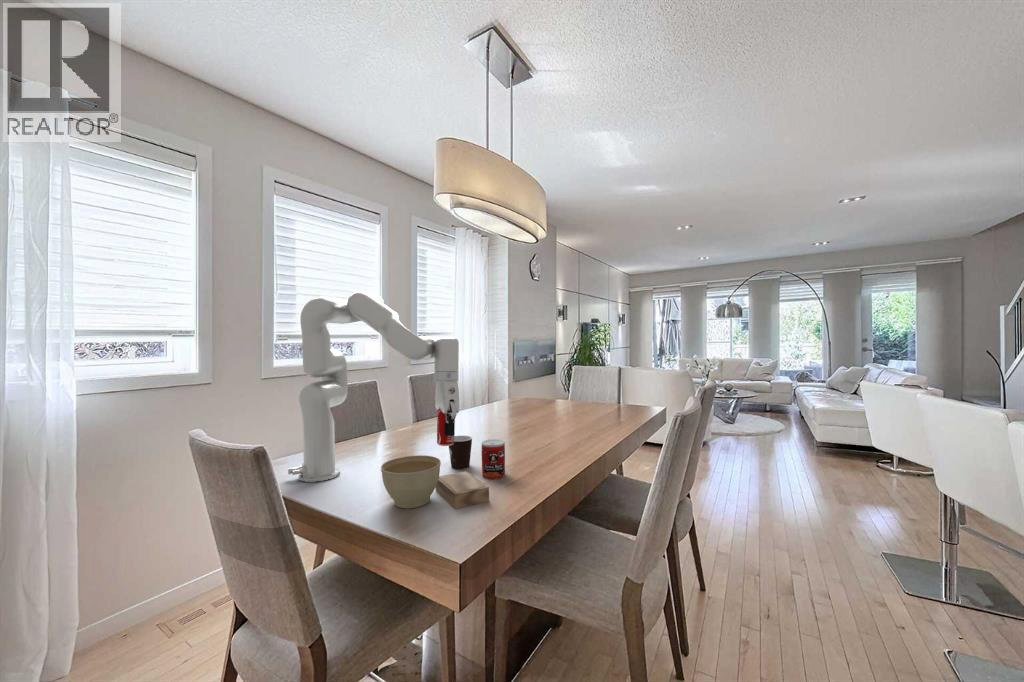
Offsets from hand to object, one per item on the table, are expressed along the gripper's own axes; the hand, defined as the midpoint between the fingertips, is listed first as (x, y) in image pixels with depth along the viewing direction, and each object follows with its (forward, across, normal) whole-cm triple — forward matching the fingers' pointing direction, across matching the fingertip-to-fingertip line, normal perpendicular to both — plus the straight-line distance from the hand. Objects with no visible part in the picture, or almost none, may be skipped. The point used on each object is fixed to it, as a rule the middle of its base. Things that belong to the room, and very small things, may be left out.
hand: (445, 432), depth 131 cm
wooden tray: (+15, -14, 0) cm, 21 cm away
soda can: (+4, 0, 0) cm, 4 cm away
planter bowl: (+16, -11, +14) cm, 24 cm away
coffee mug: (+16, +13, -11) cm, 23 cm away
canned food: (+15, -3, -16) cm, 22 cm away
